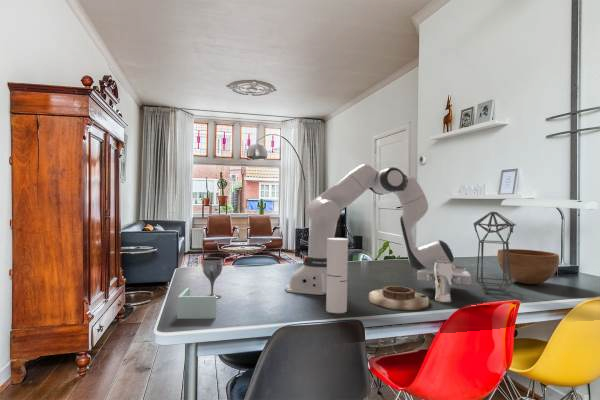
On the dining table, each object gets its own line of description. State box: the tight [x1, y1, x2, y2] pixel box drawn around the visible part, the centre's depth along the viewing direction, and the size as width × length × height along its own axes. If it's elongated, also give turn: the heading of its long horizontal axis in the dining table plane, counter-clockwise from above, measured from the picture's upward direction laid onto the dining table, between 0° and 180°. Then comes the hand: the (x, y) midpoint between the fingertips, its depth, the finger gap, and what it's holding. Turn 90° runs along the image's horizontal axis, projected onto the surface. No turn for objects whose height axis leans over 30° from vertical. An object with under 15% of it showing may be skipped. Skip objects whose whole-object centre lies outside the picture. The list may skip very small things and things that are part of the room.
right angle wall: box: [176, 287, 217, 320], centre depth 119 cm, size 12×12×8 cm
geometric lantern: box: [472, 211, 517, 296], centre depth 154 cm, size 16×16×35 cm
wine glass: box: [201, 256, 224, 300], centre depth 138 cm, size 8×8×15 cm
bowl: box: [496, 248, 560, 285], centre depth 170 cm, size 25×25×15 cm
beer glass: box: [433, 261, 453, 303], centre depth 138 cm, size 7×7×15 cm
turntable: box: [368, 285, 430, 311], centre depth 136 cm, size 22×22×4 cm
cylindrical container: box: [325, 237, 349, 314], centre depth 123 cm, size 7×7×25 cm
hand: (442, 280), depth 138 cm, fingers open, 8 cm apart
